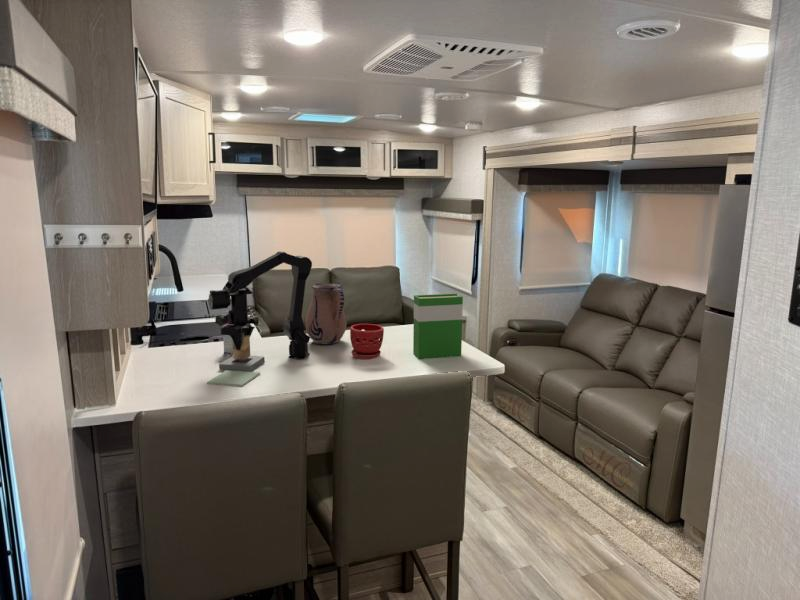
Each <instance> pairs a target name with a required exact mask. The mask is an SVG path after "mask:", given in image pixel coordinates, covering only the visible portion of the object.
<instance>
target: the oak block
mask: <svg viewBox="0 0 800 600" xmlns="http://www.w3.org/2000/svg"><path fill="white" fill-rule="evenodd" d="M250 339H251V336H250V337H249V335H244V336H243V340H242V344H241V348H240V350H237V349H236V347H235V344H234V342H233V339H232V342H233V354H232V356H233V359H243V360H245V359H247V358H248V357H250V356H251V341H250Z"/></svg>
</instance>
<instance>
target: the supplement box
mask: <svg viewBox="0 0 800 600" xmlns="http://www.w3.org/2000/svg"><path fill="white" fill-rule="evenodd" d="M225 325H228V323H227V324H224V325H223V326H225ZM232 325H233V324H232ZM222 336H223V337H222V339H223V354H225V355H233V342H232V338H231V336H229V335H222Z"/></svg>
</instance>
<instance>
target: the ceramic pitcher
mask: <svg viewBox="0 0 800 600" xmlns="http://www.w3.org/2000/svg"><path fill="white" fill-rule="evenodd" d="M341 287H342V285H341V284H338V283H326V284H325V283H324V284H322V283H316V284H315V285H312V286H311V288H312V289H313V296H312V299H311V302H310V303H309V308H308V311H307V314H306V319H305V331H306V334H307V335H308V336H309V337H310V340H312V341H313V342H314V343H316V344H318V345H320V344H321V345H332V344H335V343H338V342H339V341H340V340H341V339H342V338H343V336H345V332H346V330H347V318H346V313H345V310H344V306H345V305H344V304H345V296H344V295H345V294H344V292H343V290H342V289H341Z"/></svg>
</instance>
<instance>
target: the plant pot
mask: <svg viewBox="0 0 800 600" xmlns="http://www.w3.org/2000/svg"><path fill="white" fill-rule="evenodd" d="M384 333H385V330H384V327H383V326H382V325H378V324H374V323H357V324H353V325H351V326H350V331H349V334H350V336H349V337H350V344H351V347H352V348H353V349H352V350H351V356H352V357H355V358H357V359H361V360H371V359H375V358H377V357H379V356H380V355H381V353H382V351H381V348H382V346H383V345H382V344H383V341H384Z"/></svg>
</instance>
